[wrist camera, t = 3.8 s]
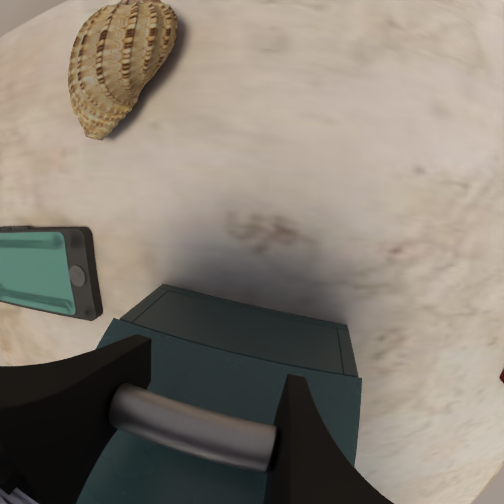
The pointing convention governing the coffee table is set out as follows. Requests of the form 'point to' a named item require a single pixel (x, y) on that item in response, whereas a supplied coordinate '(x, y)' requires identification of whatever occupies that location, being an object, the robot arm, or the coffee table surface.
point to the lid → (205, 425)
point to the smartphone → (50, 270)
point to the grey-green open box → (246, 330)
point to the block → (502, 377)
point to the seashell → (117, 60)
